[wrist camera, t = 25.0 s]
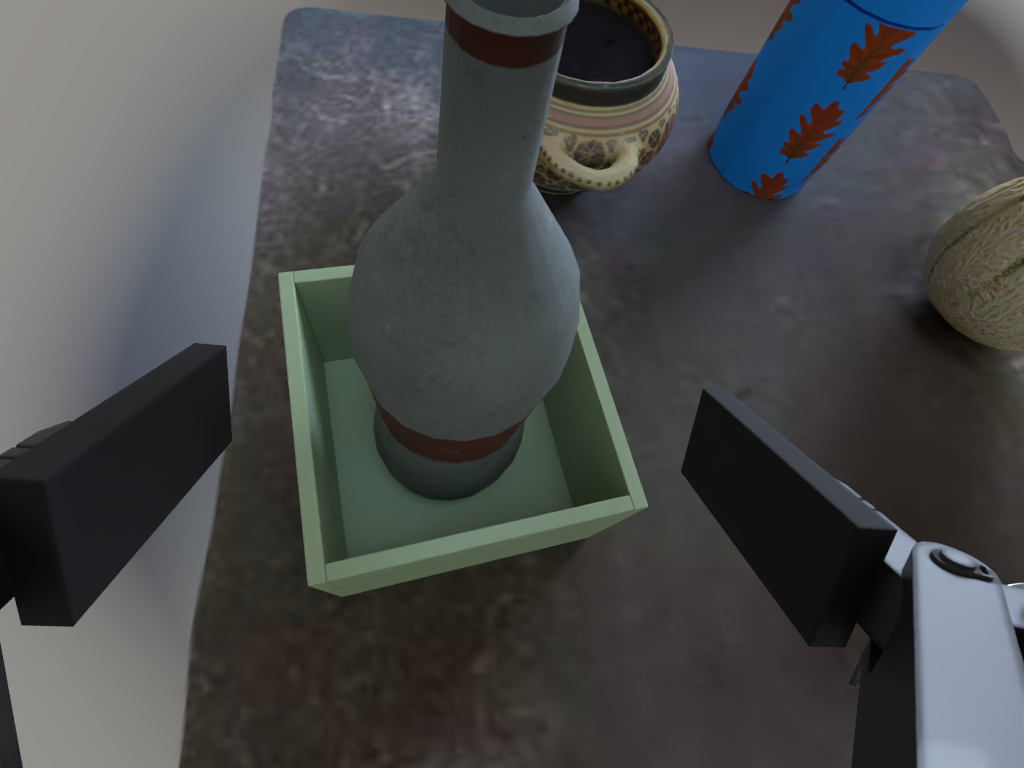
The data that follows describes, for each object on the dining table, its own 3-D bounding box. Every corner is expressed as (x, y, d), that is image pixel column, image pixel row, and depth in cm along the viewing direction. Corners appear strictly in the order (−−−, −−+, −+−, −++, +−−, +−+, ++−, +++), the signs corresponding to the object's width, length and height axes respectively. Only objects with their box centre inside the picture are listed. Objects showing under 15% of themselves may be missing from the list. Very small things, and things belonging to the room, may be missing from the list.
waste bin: (529, 329, 43) (561, 242, 34) (588, 537, 38) (649, 506, 28) (313, 360, 40) (277, 272, 30) (340, 597, 34) (307, 586, 24)
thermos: (714, 108, 58) (902, -220, 35) (808, 141, 58) (1054, -165, 36) (701, 179, 53) (907, -147, 31) (803, 215, 54) (1082, -84, 31)
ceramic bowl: (477, 86, 58) (447, -79, 44) (645, 65, 56) (669, -112, 43) (482, 280, 48) (445, 146, 34) (685, 260, 47) (732, 114, 33)
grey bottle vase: (484, 366, 40) (611, -157, 13) (534, 479, 38) (827, 102, 10) (360, 407, 38) (203, -147, 11) (404, 531, 35) (342, 209, 8)
